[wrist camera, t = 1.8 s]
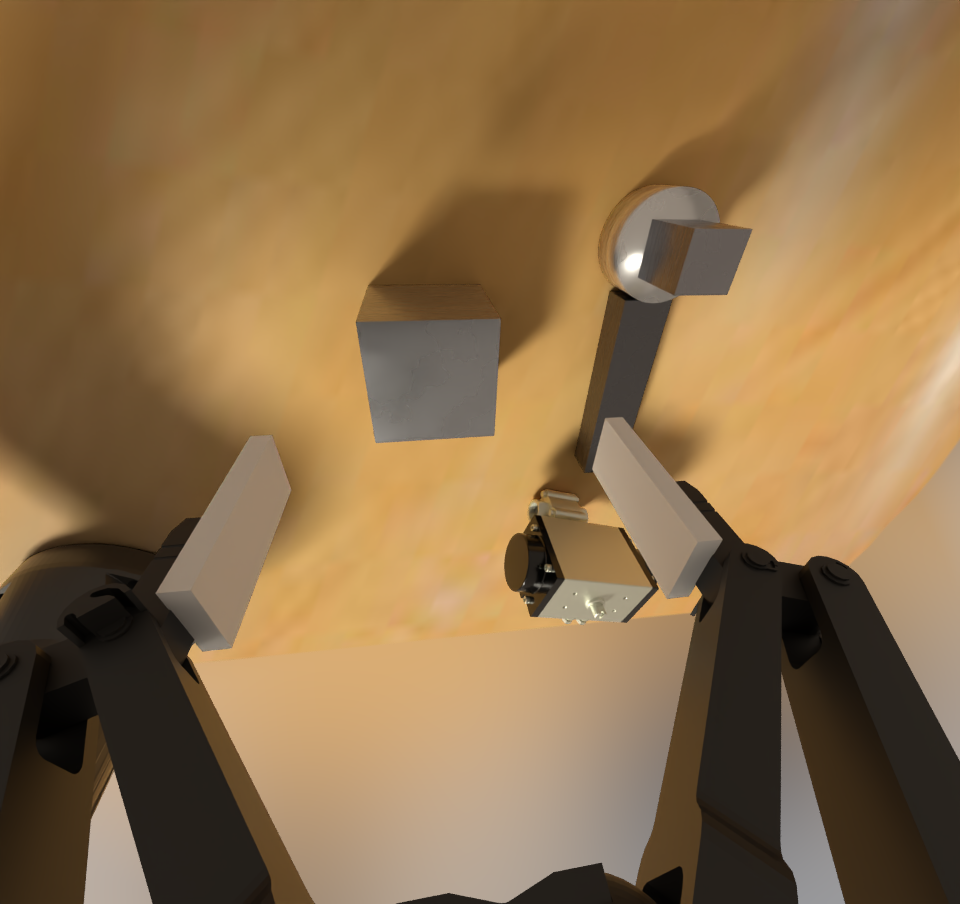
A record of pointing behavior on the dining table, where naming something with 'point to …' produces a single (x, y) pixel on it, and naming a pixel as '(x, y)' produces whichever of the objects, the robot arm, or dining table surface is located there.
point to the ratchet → (651, 291)
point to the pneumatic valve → (576, 565)
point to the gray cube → (429, 361)
